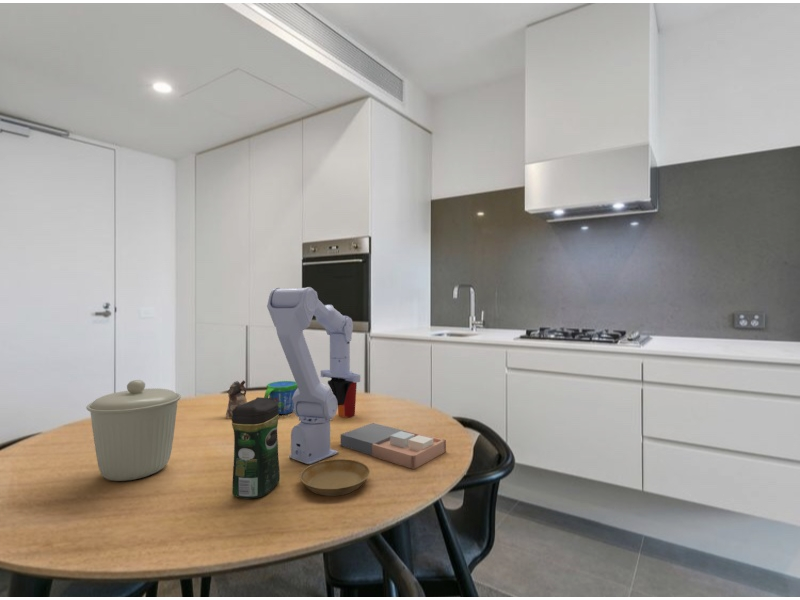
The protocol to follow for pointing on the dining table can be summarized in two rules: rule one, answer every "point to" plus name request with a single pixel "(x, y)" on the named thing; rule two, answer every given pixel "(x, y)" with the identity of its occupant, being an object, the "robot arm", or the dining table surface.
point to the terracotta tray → (409, 452)
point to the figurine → (236, 397)
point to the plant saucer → (334, 476)
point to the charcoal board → (367, 437)
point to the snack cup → (282, 395)
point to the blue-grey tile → (401, 439)
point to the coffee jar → (255, 448)
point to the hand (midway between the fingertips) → (339, 404)
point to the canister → (133, 431)
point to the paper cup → (348, 403)
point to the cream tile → (419, 443)
